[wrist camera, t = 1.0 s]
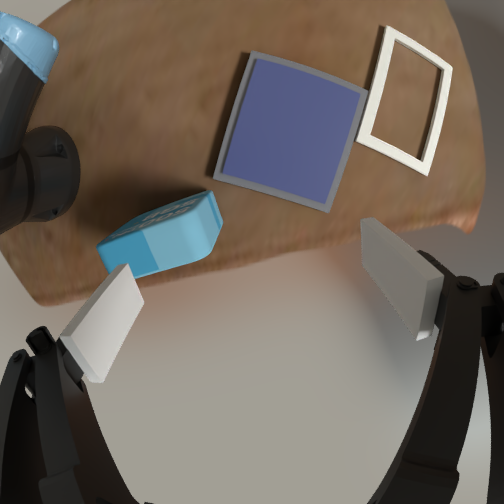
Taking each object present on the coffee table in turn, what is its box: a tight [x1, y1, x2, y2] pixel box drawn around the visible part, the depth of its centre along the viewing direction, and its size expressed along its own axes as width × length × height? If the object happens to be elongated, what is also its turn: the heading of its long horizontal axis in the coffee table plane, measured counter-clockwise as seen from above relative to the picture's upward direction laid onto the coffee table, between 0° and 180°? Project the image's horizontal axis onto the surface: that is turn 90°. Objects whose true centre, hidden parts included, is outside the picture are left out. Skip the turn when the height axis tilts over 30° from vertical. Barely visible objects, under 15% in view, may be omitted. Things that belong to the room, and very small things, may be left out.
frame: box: [355, 26, 453, 176], centre depth 27 cm, size 12×19×1 cm, turn 164°
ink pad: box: [213, 51, 368, 213], centre depth 30 cm, size 15×17×2 cm
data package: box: [96, 190, 223, 279], centre depth 30 cm, size 12×4×12 cm, turn 107°
